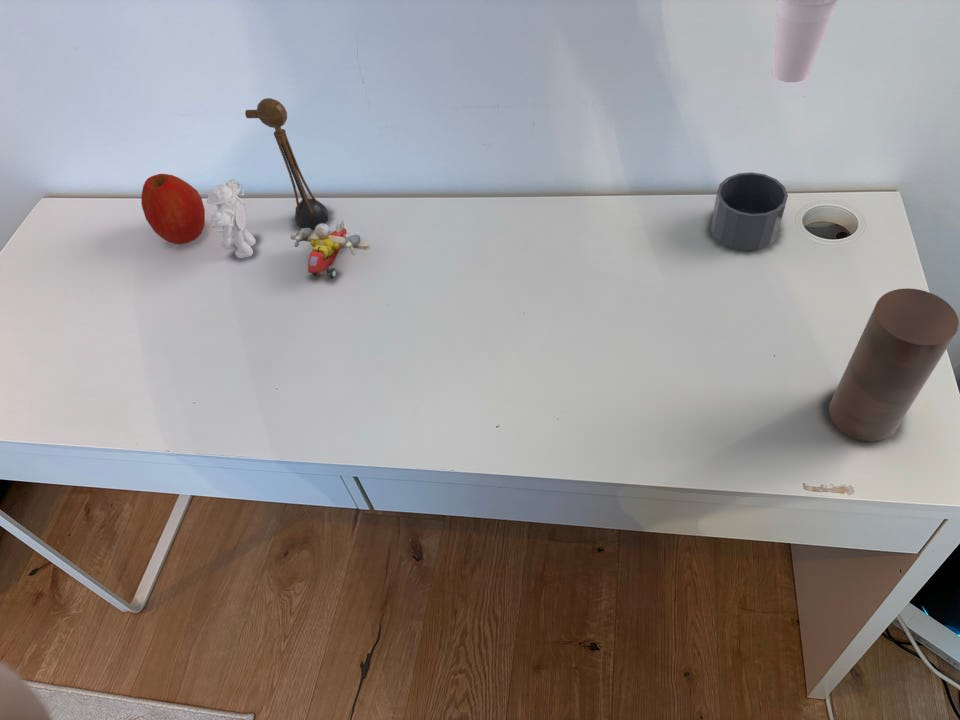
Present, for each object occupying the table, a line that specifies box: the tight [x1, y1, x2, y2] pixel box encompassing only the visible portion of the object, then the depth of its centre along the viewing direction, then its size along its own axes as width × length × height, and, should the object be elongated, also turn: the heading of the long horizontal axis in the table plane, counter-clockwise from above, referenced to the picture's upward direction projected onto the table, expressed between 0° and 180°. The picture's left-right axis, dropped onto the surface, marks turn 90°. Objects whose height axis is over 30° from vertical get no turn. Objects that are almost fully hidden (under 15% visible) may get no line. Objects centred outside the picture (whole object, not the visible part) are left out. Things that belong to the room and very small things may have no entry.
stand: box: [828, 287, 960, 443], centre depth 71 cm, size 7×7×16 cm
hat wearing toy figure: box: [206, 178, 257, 259], centre depth 101 cm, size 9×4×12 cm, turn 178°
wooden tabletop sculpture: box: [244, 97, 329, 231], centre depth 100 cm, size 6×5×20 cm
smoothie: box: [771, 0, 839, 83], centre depth 72 cm, size 6×6×14 cm
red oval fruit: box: [140, 173, 206, 245], centre depth 105 cm, size 8×8×11 cm
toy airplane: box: [289, 218, 371, 279], centre depth 100 cm, size 9×9×6 cm
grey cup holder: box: [710, 171, 789, 252], centre depth 94 cm, size 8×8×6 cm
